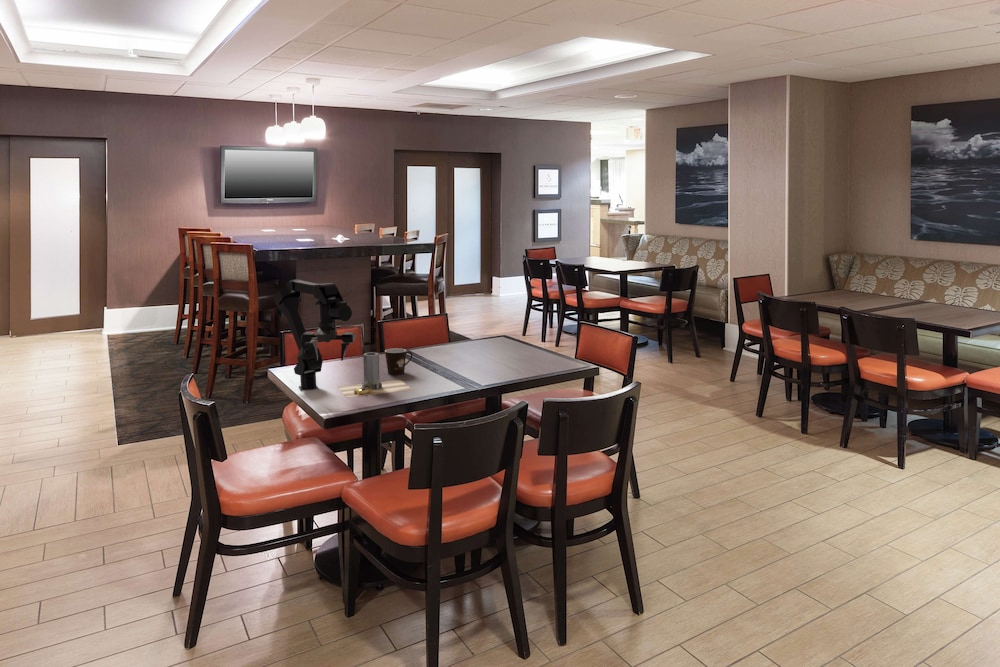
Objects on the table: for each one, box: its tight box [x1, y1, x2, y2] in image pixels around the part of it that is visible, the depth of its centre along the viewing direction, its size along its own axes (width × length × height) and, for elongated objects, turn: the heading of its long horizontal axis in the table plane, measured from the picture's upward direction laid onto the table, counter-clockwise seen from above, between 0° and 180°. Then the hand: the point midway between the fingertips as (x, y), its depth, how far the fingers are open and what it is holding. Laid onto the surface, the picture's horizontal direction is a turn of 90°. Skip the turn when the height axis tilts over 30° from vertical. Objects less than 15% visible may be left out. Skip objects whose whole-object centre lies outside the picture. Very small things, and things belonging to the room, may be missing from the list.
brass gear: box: [354, 387, 372, 396], centre depth 275 cm, size 7×7×2 cm
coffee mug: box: [384, 348, 413, 376], centre depth 304 cm, size 12×9×10 cm
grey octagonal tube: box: [361, 351, 382, 390], centre depth 281 cm, size 7×7×13 cm
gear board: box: [337, 379, 413, 398], centre depth 281 cm, size 16×25×1 cm, turn 114°
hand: (329, 360), depth 272 cm, fingers open, 9 cm apart
